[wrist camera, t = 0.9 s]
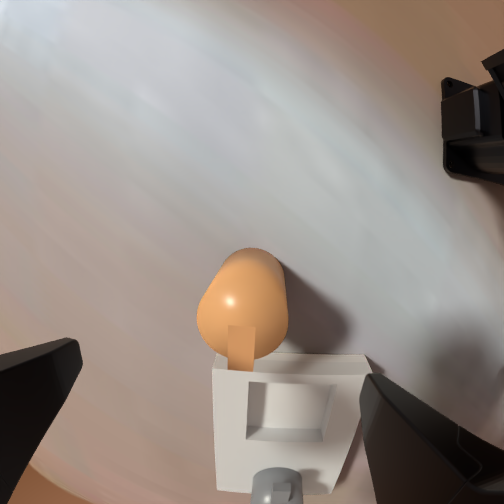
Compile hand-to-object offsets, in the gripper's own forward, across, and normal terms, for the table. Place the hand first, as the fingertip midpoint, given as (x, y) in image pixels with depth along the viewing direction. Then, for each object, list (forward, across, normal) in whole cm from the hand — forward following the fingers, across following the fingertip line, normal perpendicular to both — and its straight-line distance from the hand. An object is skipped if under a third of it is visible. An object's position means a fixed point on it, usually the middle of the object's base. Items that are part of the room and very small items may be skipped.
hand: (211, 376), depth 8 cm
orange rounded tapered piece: (+11, 0, +1) cm, 11 cm away
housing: (+11, -4, +13) cm, 17 cm away
